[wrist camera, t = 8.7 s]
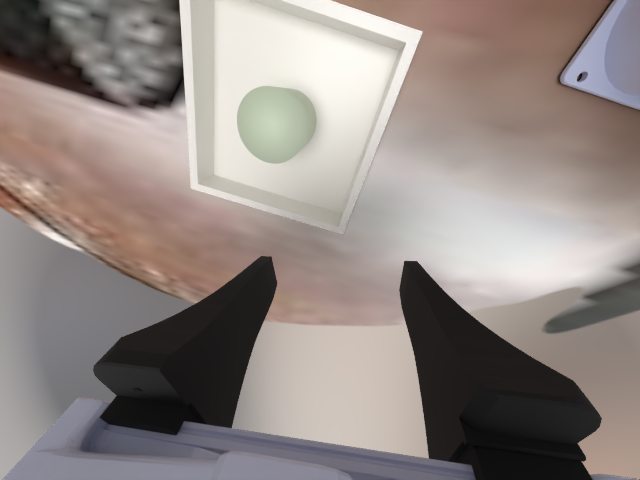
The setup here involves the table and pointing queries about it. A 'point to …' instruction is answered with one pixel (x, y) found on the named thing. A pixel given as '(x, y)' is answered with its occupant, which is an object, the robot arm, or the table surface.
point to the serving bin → (295, 73)
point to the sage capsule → (275, 122)
